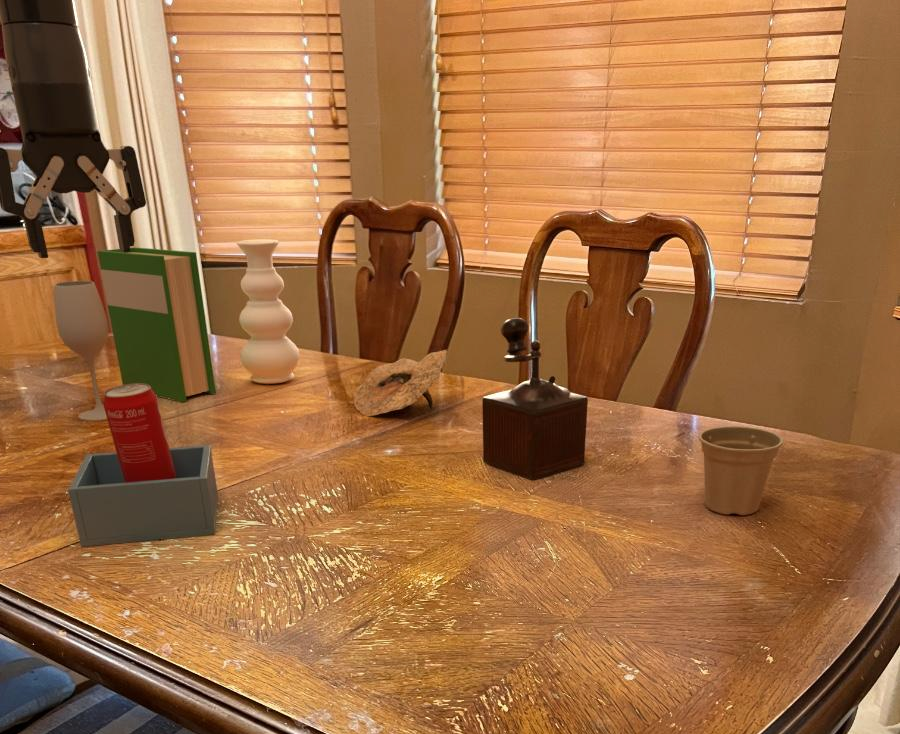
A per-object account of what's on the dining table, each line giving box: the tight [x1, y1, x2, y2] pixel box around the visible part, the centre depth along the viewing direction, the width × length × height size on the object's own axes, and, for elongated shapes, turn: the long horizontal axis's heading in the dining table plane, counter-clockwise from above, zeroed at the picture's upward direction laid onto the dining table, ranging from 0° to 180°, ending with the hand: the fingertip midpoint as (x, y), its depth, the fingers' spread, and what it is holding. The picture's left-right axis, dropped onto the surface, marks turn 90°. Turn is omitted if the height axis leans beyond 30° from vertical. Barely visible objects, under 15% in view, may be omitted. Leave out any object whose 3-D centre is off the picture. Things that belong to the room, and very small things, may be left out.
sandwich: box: [352, 349, 448, 417], centre depth 145 cm, size 18×14×8 cm
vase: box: [236, 238, 300, 385], centre depth 159 cm, size 11×11×25 cm
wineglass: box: [53, 280, 110, 422], centre depth 140 cm, size 8×8×21 cm
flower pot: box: [698, 425, 784, 516], centre depth 101 cm, size 9×9×9 cm
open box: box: [67, 444, 219, 548], centre depth 101 cm, size 15×13×7 cm
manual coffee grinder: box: [481, 317, 589, 481], centre depth 117 cm, size 16×11×18 cm
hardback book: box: [96, 246, 217, 403], centre depth 153 cm, size 18×7×24 cm, turn 53°
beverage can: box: [103, 383, 177, 483], centre depth 99 cm, size 6×6×15 cm
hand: (85, 254), depth 93 cm, fingers open, 8 cm apart
